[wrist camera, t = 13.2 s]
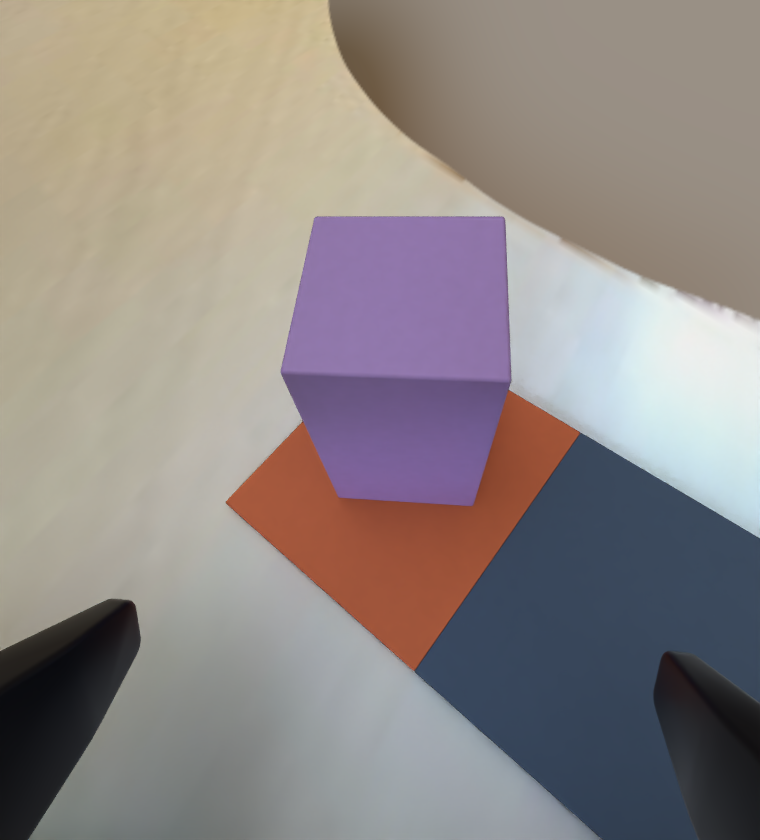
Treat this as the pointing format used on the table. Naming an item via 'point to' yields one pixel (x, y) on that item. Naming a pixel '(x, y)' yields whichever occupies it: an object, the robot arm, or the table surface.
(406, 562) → the mat
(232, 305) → the table surface
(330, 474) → the block
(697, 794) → the robot arm
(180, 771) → the table surface
